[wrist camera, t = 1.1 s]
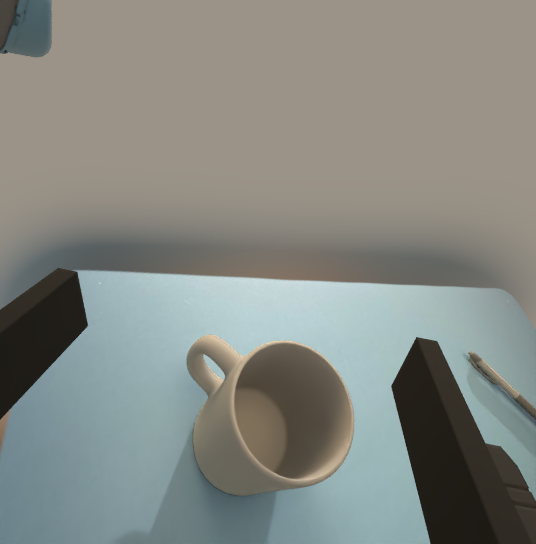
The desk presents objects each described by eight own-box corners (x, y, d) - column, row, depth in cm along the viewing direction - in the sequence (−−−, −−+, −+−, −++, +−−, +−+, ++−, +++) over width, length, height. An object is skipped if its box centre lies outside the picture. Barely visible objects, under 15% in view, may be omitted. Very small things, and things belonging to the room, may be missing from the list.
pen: (464, 352, 44) (472, 348, 43) (550, 433, 42) (561, 431, 41) (462, 356, 44) (471, 352, 43) (549, 439, 41) (561, 437, 40)
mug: (303, 431, 30) (375, 401, 22) (246, 524, 24) (315, 529, 16) (212, 342, 32) (247, 282, 23) (139, 409, 26) (152, 361, 18)
